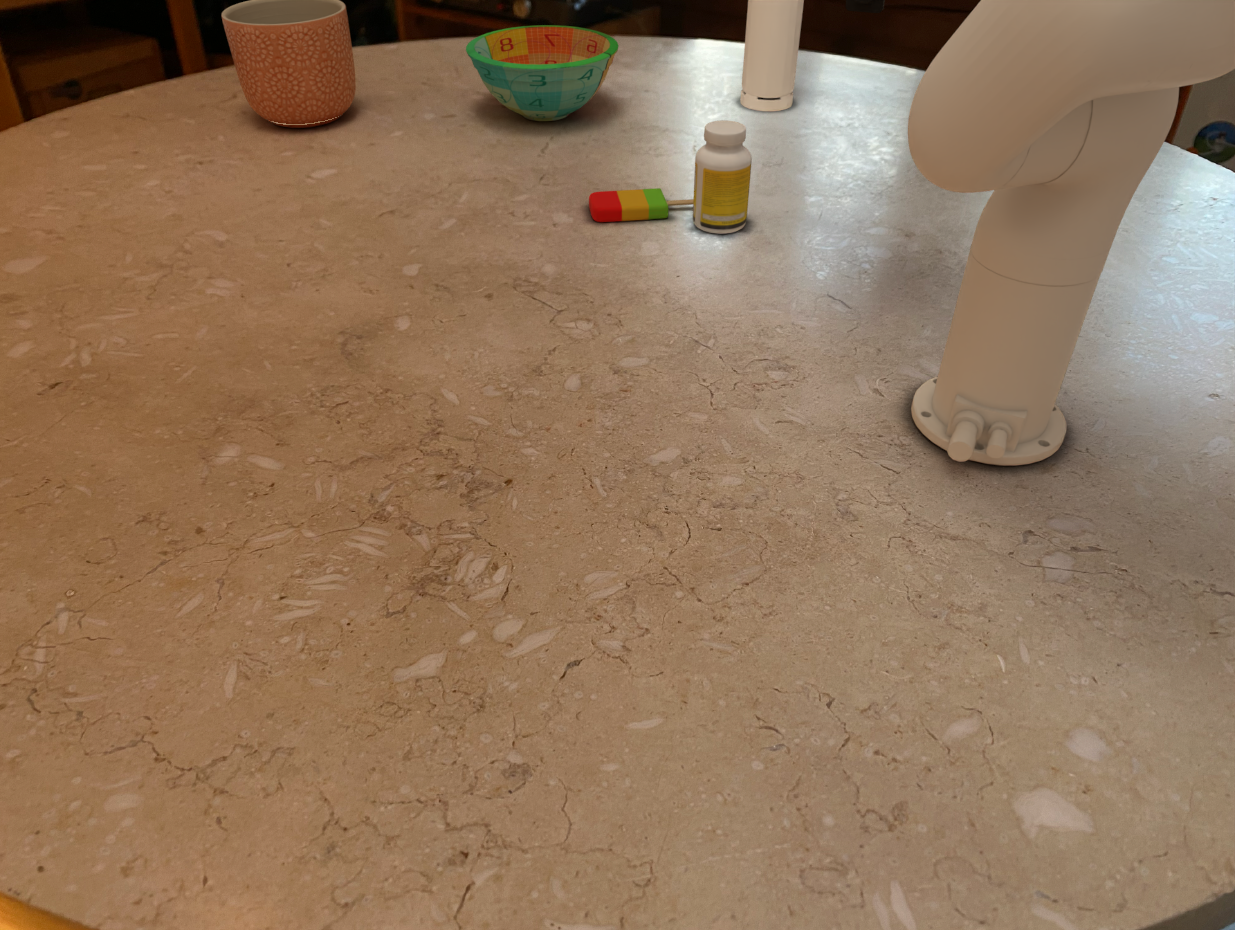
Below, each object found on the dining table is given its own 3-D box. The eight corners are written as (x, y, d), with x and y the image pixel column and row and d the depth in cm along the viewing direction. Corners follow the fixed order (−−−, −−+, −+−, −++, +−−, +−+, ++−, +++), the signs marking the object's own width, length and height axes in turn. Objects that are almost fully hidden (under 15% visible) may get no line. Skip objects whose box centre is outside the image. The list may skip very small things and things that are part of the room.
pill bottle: (752, 233, 110) (761, 135, 103) (699, 238, 110) (704, 139, 102) (738, 211, 115) (745, 115, 108) (686, 215, 115) (691, 119, 107)
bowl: (441, 119, 141) (433, 49, 135) (534, 82, 156) (530, 17, 149) (559, 150, 131) (556, 76, 125) (646, 107, 146) (647, 38, 139)
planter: (386, 115, 143) (369, 7, 133) (291, 146, 133) (265, 31, 123) (320, 92, 152) (299, -11, 142) (225, 119, 142) (197, 11, 132)
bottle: (763, 91, 152) (782, -110, 134) (802, 103, 147) (827, -104, 129) (729, 102, 147) (744, -104, 130) (769, 115, 143) (790, -98, 125)
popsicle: (587, 205, 117) (587, 190, 116) (705, 199, 119) (706, 184, 117) (592, 224, 113) (592, 209, 112) (715, 217, 114) (716, 202, 113)
